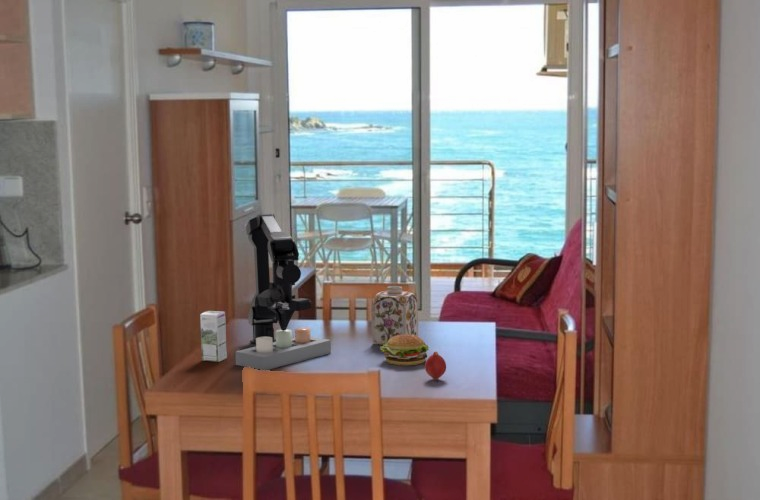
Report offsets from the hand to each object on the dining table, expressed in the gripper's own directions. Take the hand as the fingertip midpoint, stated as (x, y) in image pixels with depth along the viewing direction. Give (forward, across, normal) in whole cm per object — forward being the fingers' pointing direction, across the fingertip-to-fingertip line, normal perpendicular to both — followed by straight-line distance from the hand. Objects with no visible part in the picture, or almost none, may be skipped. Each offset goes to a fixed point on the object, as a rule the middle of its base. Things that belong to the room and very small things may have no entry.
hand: (283, 330), depth 306 cm
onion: (+9, +51, +8) cm, 52 cm away
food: (+9, +31, +19) cm, 37 cm away
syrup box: (+9, -16, -14) cm, 23 cm away
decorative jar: (+9, +12, +38) cm, 41 cm away
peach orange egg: (+8, 0, +8) cm, 11 cm away
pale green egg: (+7, 0, 0) cm, 7 cm away
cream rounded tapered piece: (+8, 0, -8) cm, 11 cm away
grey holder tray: (+9, 0, 0) cm, 9 cm away
